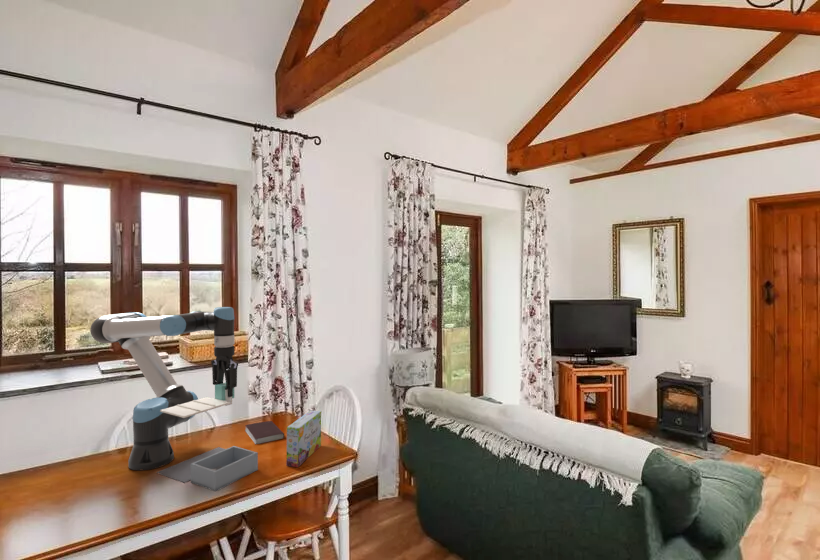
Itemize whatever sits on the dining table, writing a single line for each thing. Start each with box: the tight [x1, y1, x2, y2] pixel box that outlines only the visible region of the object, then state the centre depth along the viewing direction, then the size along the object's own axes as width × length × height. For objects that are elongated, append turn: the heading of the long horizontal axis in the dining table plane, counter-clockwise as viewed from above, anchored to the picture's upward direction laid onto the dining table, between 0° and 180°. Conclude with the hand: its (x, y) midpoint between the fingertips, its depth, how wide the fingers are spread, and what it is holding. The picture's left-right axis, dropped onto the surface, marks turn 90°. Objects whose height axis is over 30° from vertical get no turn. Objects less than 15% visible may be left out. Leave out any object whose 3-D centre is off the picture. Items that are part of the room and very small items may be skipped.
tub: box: [190, 445, 259, 492], centre depth 157 cm, size 13×18×6 cm
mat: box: [156, 446, 226, 484], centre depth 167 cm, size 16×26×1 cm, turn 151°
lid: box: [160, 381, 235, 418], centre depth 167 cm, size 14×25×6 cm, turn 151°
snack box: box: [285, 410, 322, 468], centre depth 174 cm, size 21×6×15 cm, turn 168°
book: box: [244, 420, 285, 445], centre depth 197 cm, size 13×19×3 cm, turn 33°
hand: (224, 403), depth 175 cm, fingers closed on lid, 4 cm apart
